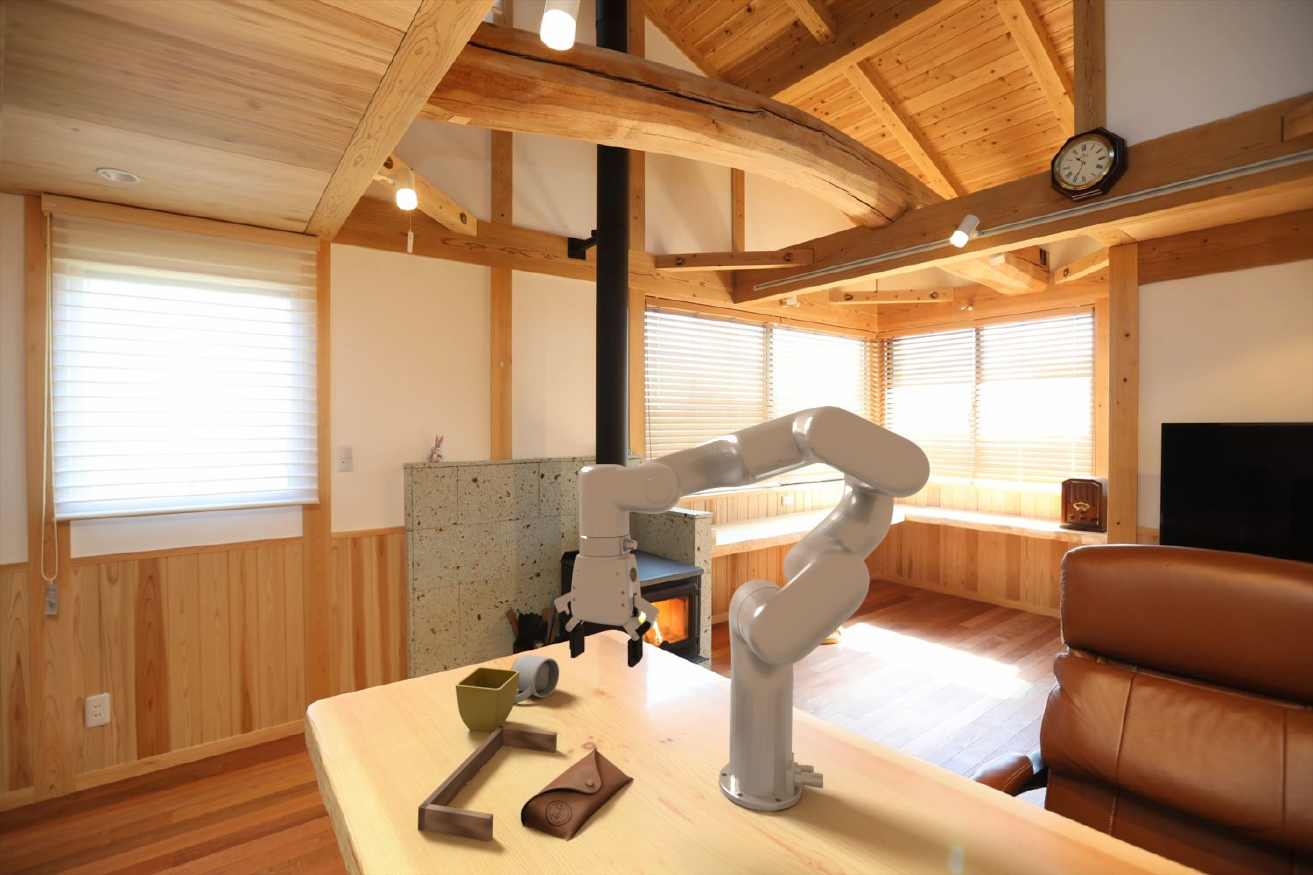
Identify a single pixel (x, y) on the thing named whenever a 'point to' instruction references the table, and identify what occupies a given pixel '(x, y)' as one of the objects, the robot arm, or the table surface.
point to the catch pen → (465, 821)
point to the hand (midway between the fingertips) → (605, 659)
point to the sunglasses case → (573, 796)
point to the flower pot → (487, 697)
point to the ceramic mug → (536, 676)
